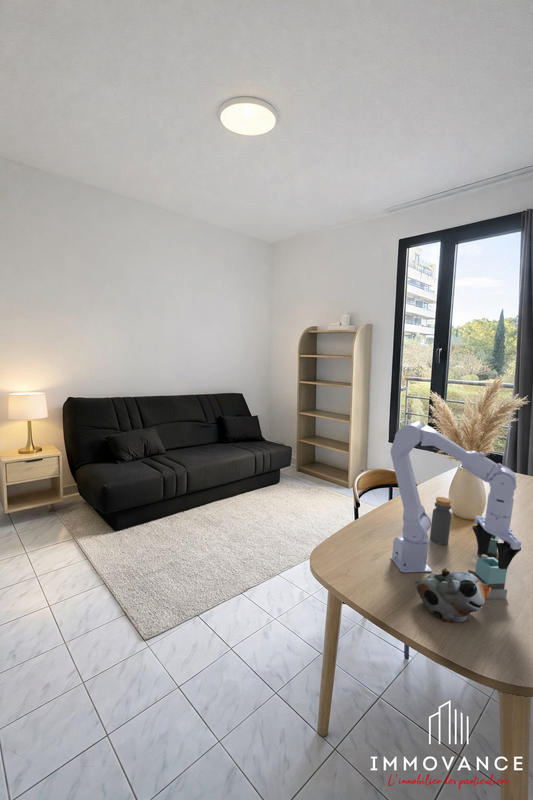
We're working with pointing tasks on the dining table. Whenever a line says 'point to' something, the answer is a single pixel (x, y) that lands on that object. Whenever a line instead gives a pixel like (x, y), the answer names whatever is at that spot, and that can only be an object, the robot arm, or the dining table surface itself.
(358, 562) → the dining table surface
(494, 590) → the block
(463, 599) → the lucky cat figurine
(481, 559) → the sleeve
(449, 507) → the bottle
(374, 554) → the dining table surface
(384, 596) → the dining table surface
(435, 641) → the dining table surface
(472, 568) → the peg board
